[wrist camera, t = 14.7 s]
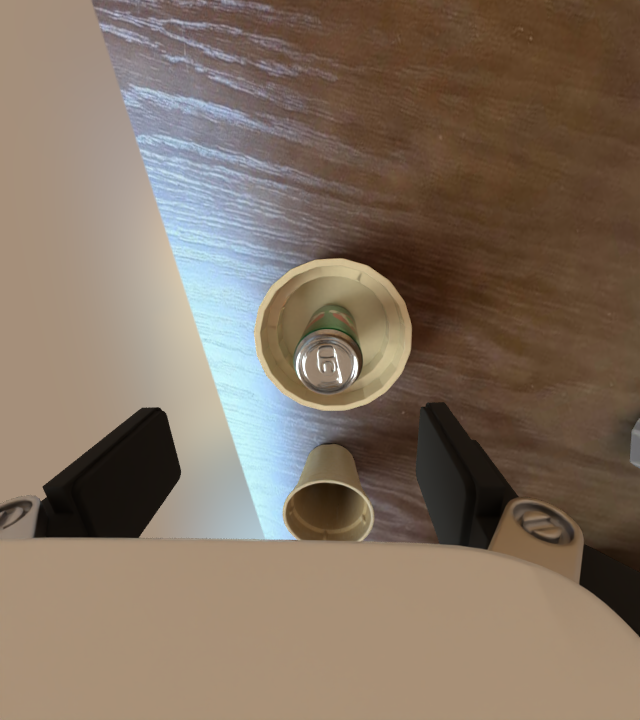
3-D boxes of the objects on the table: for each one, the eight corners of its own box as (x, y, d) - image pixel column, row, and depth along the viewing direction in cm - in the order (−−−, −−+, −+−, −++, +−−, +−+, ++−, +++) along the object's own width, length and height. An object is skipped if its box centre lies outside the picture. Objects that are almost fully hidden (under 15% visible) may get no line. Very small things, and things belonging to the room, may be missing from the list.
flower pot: (303, 423, 37) (293, 470, 29) (376, 441, 37) (386, 494, 29) (288, 481, 40) (274, 539, 32) (355, 497, 40) (359, 559, 32)
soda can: (310, 350, 33) (294, 401, 21) (306, 305, 31) (287, 333, 20) (356, 348, 32) (364, 399, 21) (355, 302, 30) (363, 329, 19)
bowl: (276, 386, 35) (263, 411, 30) (262, 261, 31) (244, 263, 25) (396, 384, 34) (407, 409, 28) (401, 254, 29) (416, 254, 24)
